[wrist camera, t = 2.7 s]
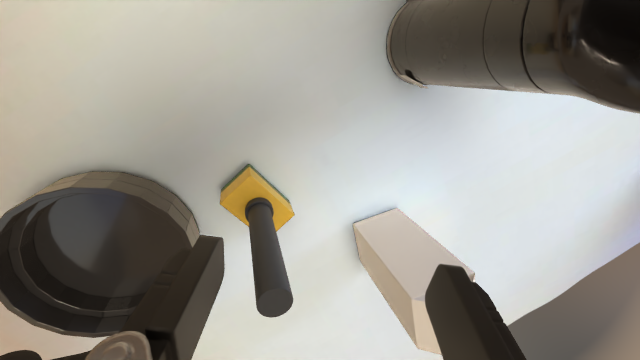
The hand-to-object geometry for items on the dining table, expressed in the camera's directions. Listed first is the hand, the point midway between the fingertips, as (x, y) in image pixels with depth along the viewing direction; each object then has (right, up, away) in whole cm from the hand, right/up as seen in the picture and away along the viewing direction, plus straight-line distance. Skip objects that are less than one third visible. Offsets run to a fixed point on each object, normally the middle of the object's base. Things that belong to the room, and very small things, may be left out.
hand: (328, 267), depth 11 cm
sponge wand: (-8, +1, +24) cm, 26 cm away
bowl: (-23, -4, +22) cm, 32 cm away
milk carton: (+8, -5, +32) cm, 33 cm away
